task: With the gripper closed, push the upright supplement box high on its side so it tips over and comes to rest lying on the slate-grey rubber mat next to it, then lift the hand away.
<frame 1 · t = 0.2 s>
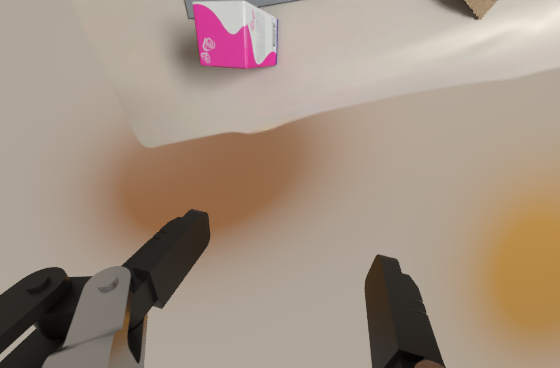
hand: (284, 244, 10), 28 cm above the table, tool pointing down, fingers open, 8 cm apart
supplement box: (258, 42, 32), on the table
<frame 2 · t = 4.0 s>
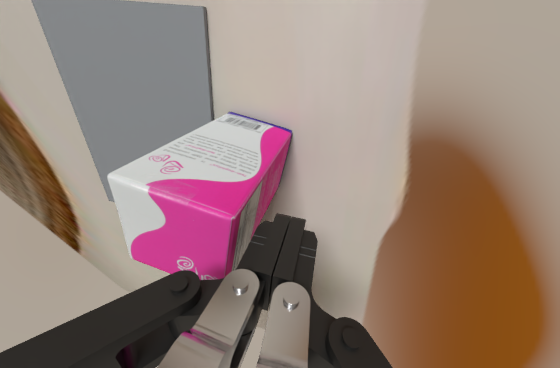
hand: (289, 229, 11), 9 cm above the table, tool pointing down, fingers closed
supplement box: (256, 151, 20), on the table, touching gripper
rubber mat: (145, 131, 21), on the table
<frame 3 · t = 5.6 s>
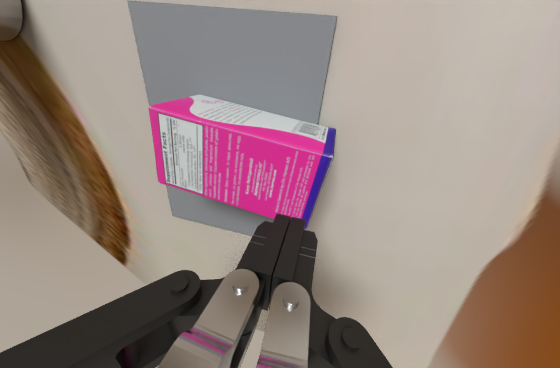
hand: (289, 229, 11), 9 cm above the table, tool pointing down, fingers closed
supplement box: (325, 179, 15), point 3 cm above the table, touching rubber mat
rubber mat: (229, 146, 20), on the table
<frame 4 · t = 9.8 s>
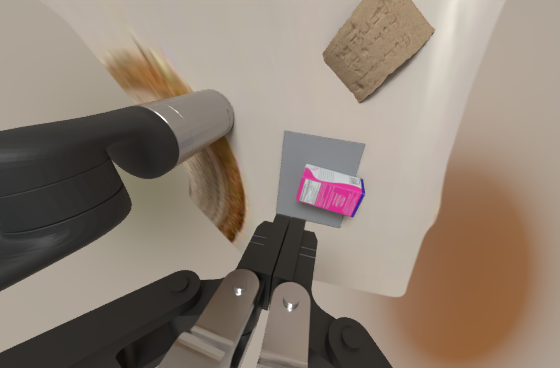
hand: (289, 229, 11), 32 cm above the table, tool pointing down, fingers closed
supplement box: (359, 198, 41), point 3 cm above the table, touching rubber mat
clay tablet: (372, 44, 33), on the table
rubber mat: (314, 182, 46), on the table
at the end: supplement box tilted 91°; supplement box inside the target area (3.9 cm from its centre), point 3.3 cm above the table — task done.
